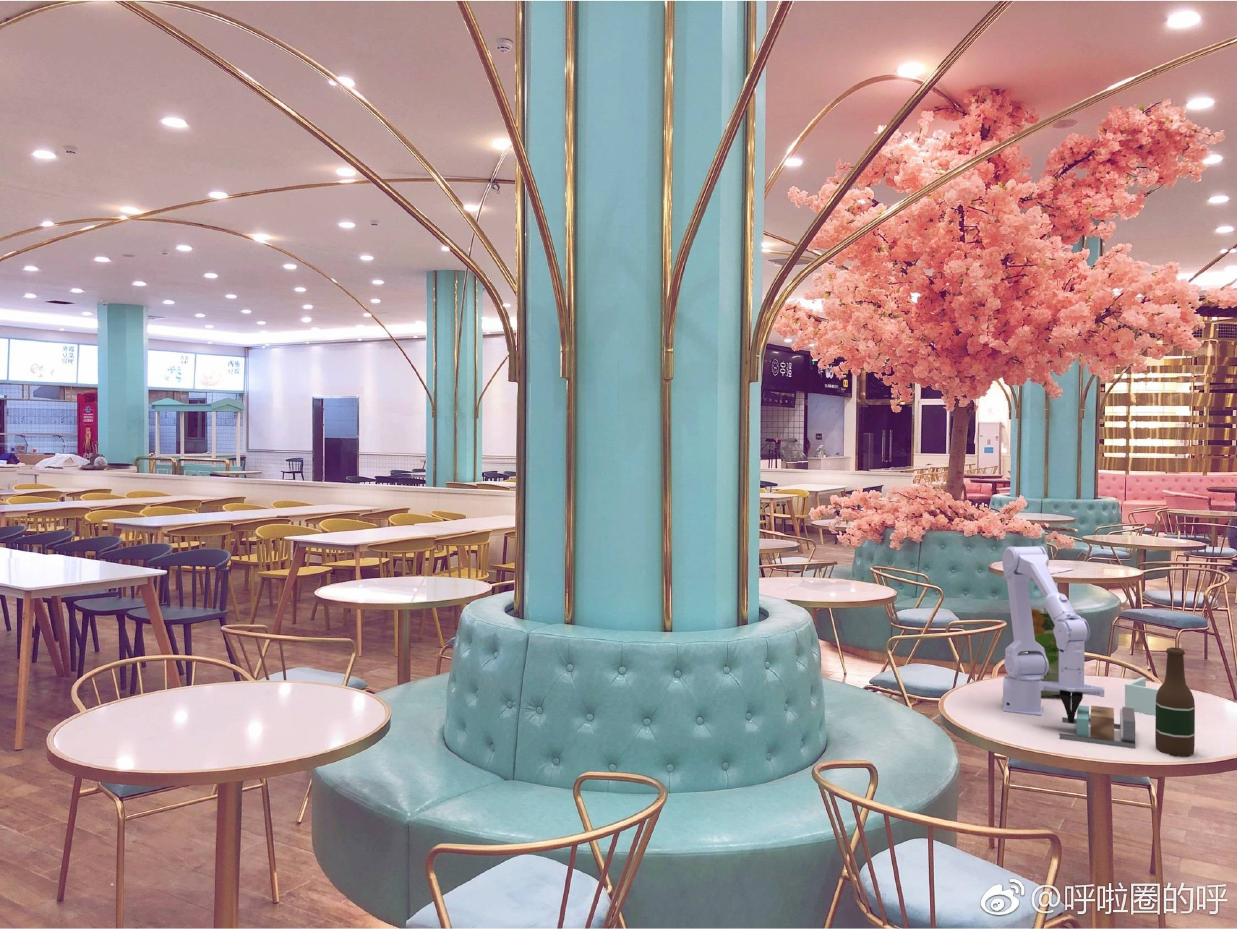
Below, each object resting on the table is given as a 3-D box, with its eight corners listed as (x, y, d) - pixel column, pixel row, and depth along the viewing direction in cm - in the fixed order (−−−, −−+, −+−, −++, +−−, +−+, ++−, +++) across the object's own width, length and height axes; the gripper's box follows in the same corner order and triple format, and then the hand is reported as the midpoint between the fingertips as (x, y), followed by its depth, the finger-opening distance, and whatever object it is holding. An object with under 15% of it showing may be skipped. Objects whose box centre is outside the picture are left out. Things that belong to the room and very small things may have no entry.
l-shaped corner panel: (1174, 721, 240) (1174, 692, 240) (1124, 712, 249) (1125, 684, 249) (1190, 713, 248) (1190, 685, 248) (1141, 704, 257) (1141, 677, 257)
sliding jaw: (1076, 738, 223) (1076, 718, 223) (1077, 724, 234) (1077, 705, 234) (1090, 740, 222) (1090, 719, 221) (1091, 726, 233) (1091, 706, 233)
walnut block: (1090, 740, 223) (1090, 715, 223) (1091, 729, 232) (1091, 705, 232) (1114, 743, 221) (1114, 718, 221) (1113, 732, 229) (1113, 707, 229)
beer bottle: (1194, 759, 209) (1195, 653, 208) (1154, 753, 213) (1155, 649, 212) (1194, 750, 215) (1195, 647, 215) (1155, 744, 219) (1156, 643, 219)
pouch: (1070, 702, 256) (1070, 612, 256) (1023, 697, 261) (1023, 609, 261) (1069, 693, 266) (1070, 606, 266) (1024, 688, 271) (1024, 603, 271)
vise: (1059, 739, 223) (1059, 714, 223) (1062, 721, 238) (1062, 698, 238) (1135, 749, 216) (1135, 723, 216) (1133, 730, 230) (1133, 706, 230)
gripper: (1038, 667, 229) (1038, 722, 229) (1104, 674, 222) (1104, 730, 222) (1040, 661, 235) (1039, 714, 235) (1104, 668, 228) (1104, 722, 229)
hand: (1071, 721), depth 229 cm, fingers closed
